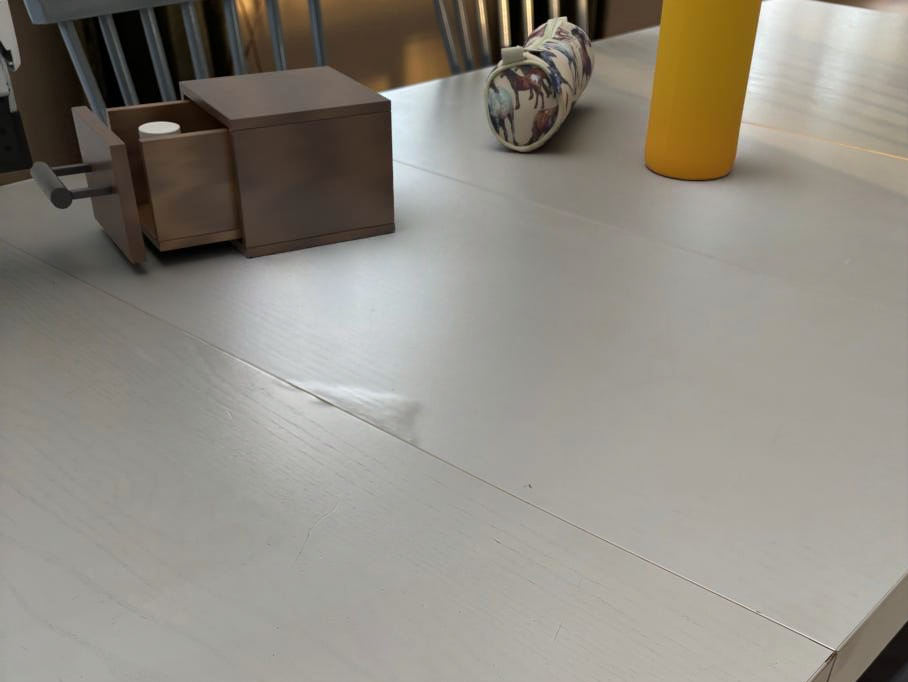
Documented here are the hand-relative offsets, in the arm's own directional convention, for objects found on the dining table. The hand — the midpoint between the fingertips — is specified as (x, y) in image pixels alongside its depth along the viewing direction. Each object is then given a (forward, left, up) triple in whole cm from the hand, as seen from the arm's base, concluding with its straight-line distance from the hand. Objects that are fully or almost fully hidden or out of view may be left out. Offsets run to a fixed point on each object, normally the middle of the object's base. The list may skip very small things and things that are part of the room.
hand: (10, 167), depth 79 cm
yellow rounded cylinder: (+64, -3, -8) cm, 65 cm away
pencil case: (+58, +16, -8) cm, 61 cm away
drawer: (+10, 0, -7) cm, 12 cm away
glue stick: (+12, 0, -5) cm, 13 cm away
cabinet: (+22, 0, -7) cm, 24 cm away
